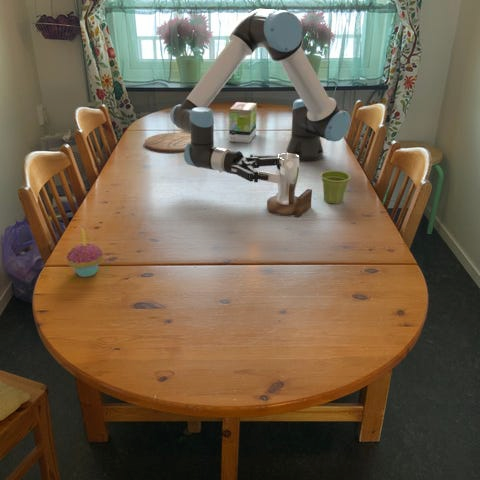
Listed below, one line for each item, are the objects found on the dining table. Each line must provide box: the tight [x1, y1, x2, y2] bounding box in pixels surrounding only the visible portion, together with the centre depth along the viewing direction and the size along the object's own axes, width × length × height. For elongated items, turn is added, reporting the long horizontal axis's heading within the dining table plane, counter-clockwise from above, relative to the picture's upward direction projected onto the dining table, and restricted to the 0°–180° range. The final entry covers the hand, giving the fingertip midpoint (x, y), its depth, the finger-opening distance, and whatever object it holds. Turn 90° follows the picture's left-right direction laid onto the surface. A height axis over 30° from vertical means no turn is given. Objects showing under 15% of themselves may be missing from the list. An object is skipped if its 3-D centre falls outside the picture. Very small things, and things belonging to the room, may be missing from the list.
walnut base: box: [266, 188, 313, 218], centre depth 158 cm, size 13×12×6 cm
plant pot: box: [320, 170, 351, 205], centre depth 163 cm, size 9×9×9 cm
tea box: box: [228, 101, 258, 144], centre depth 226 cm, size 15×10×15 cm
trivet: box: [144, 132, 191, 154], centre depth 220 cm, size 25×25×2 cm
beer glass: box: [275, 153, 300, 206], centre depth 155 cm, size 7×7×15 cm
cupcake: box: [66, 224, 104, 278], centre depth 121 cm, size 9×8×12 cm
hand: (288, 172), depth 153 cm, fingers open, 13 cm apart
